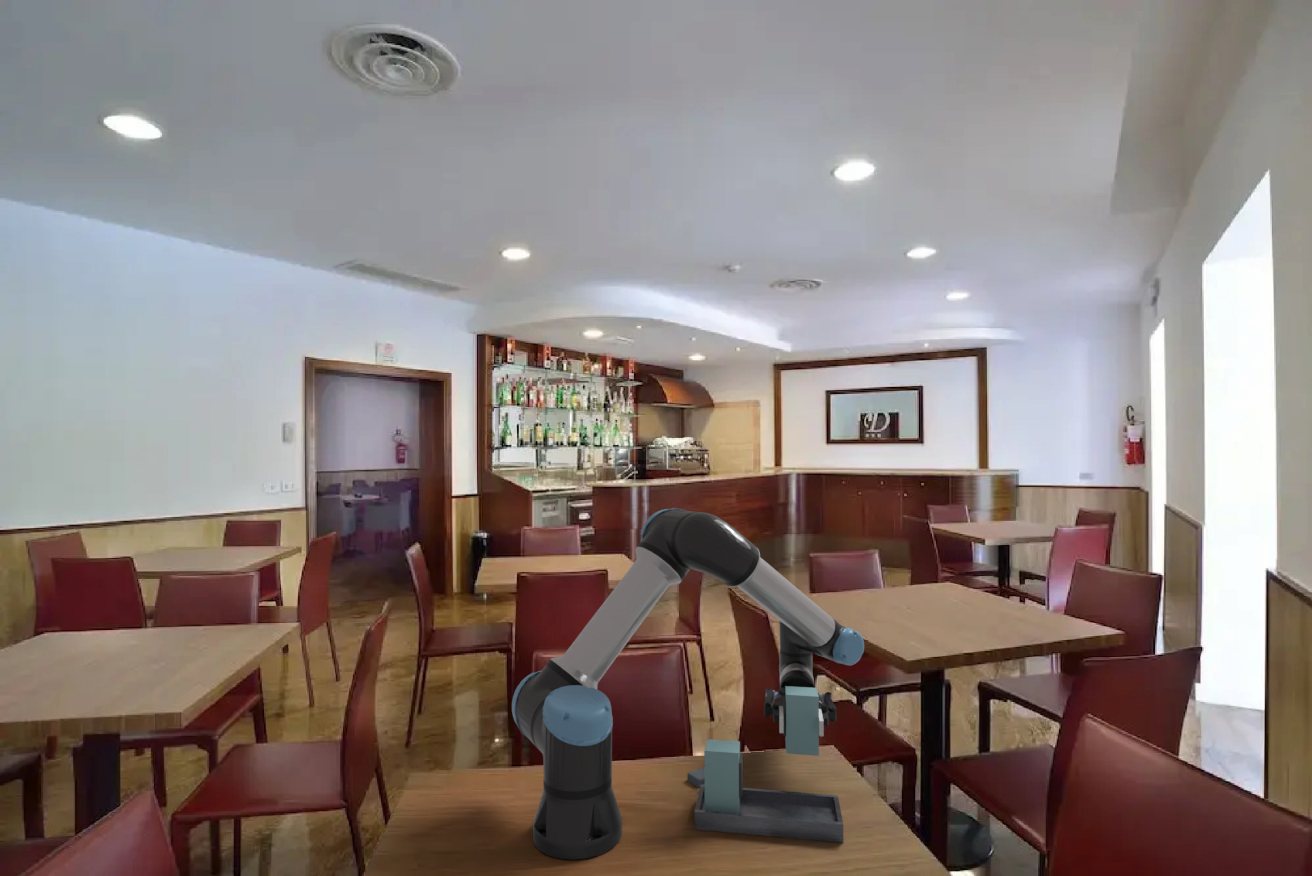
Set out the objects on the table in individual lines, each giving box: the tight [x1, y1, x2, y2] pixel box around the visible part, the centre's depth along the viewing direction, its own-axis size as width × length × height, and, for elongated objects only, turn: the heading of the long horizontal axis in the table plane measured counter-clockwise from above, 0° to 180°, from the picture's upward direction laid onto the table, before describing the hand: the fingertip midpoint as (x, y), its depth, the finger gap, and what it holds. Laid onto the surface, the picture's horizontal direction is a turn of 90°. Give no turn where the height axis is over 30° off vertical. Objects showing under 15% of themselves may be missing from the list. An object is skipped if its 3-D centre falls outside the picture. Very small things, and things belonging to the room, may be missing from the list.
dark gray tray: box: [694, 784, 844, 844], centre depth 121 cm, size 25×10×3 cm, turn 80°
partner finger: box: [703, 738, 744, 813], centre depth 123 cm, size 6×5×11 cm
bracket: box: [687, 766, 705, 789], centre depth 138 cm, size 4×10×2 cm, turn 125°
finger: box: [782, 686, 820, 757], centre depth 131 cm, size 6×5×11 cm
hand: (801, 727), depth 126 cm, fingers closed on finger, 6 cm apart
